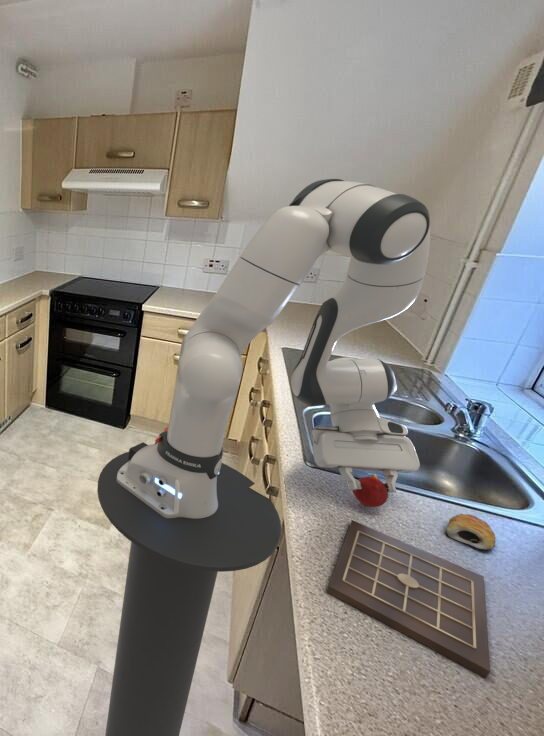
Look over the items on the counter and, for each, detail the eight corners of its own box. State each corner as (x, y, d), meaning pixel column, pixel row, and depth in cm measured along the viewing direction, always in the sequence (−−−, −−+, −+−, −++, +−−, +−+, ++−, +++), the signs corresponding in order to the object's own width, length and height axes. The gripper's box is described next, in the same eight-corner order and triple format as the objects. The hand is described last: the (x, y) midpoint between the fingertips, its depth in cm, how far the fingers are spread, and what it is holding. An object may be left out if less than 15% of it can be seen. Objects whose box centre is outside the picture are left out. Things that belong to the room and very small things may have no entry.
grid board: (327, 592, 70) (329, 585, 70) (349, 525, 85) (352, 519, 85) (485, 678, 58) (490, 670, 57) (480, 582, 73) (484, 575, 72)
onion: (385, 508, 90) (398, 478, 87) (375, 519, 86) (388, 488, 84) (354, 493, 94) (365, 464, 91) (344, 502, 91) (355, 472, 88)
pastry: (450, 515, 89) (457, 500, 87) (496, 534, 84) (504, 519, 82) (442, 535, 83) (449, 520, 82) (490, 557, 78) (498, 541, 77)
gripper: (317, 421, 92) (331, 485, 86) (414, 427, 90) (435, 493, 85) (301, 428, 97) (313, 489, 92) (392, 434, 96) (410, 496, 90)
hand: (373, 491), depth 88 cm, fingers closed on onion, 5 cm apart
